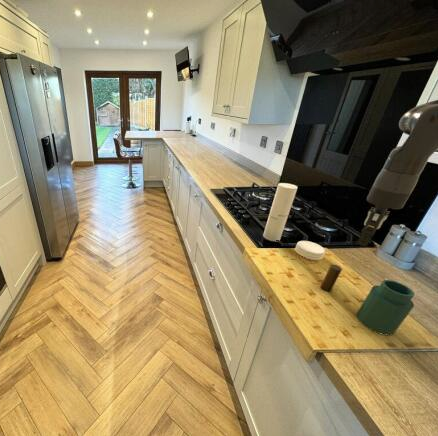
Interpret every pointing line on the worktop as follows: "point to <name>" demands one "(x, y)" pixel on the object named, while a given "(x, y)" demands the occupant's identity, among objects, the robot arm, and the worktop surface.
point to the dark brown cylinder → (330, 278)
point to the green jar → (386, 307)
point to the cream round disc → (310, 250)
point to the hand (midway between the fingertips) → (364, 240)
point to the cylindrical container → (279, 211)
